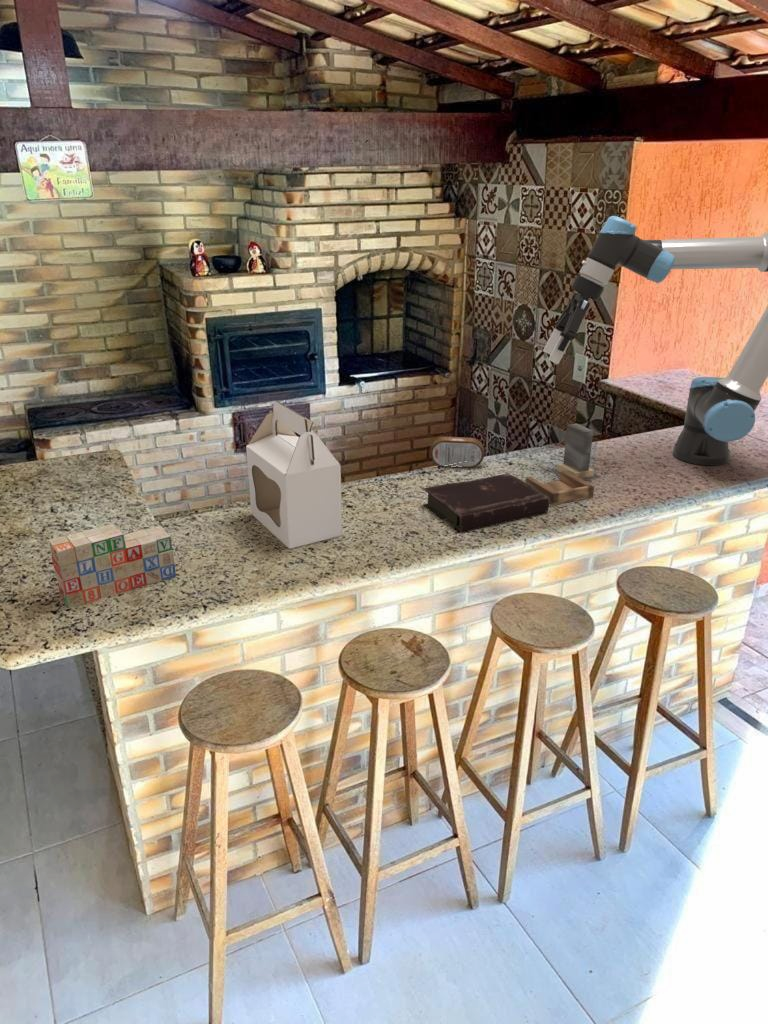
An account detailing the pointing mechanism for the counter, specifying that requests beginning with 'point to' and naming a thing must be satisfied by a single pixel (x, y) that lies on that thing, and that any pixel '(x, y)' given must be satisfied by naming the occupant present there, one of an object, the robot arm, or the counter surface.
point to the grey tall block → (577, 452)
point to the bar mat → (582, 479)
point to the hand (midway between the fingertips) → (550, 357)
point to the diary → (485, 501)
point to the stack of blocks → (110, 562)
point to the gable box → (293, 480)
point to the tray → (563, 488)
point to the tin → (457, 451)
